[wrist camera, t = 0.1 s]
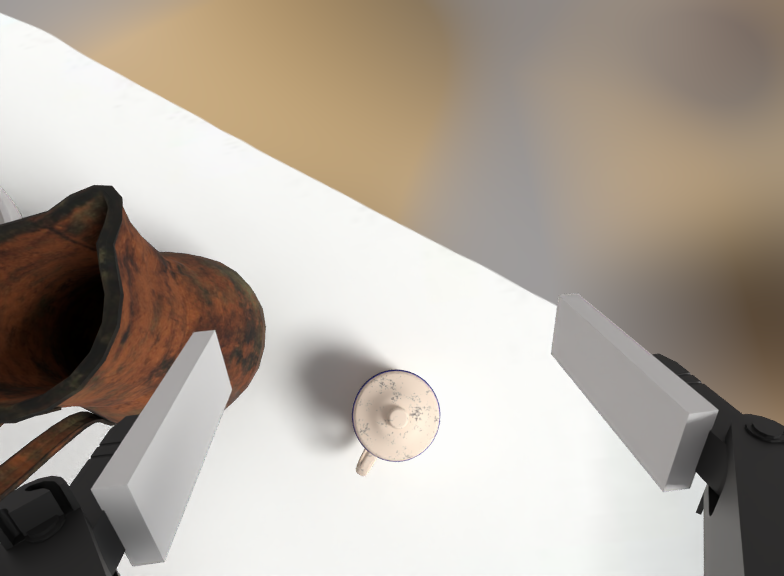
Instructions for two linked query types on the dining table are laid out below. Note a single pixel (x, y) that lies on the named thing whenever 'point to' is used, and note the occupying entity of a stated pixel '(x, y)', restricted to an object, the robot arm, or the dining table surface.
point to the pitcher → (105, 320)
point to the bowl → (7, 208)
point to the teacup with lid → (394, 418)
